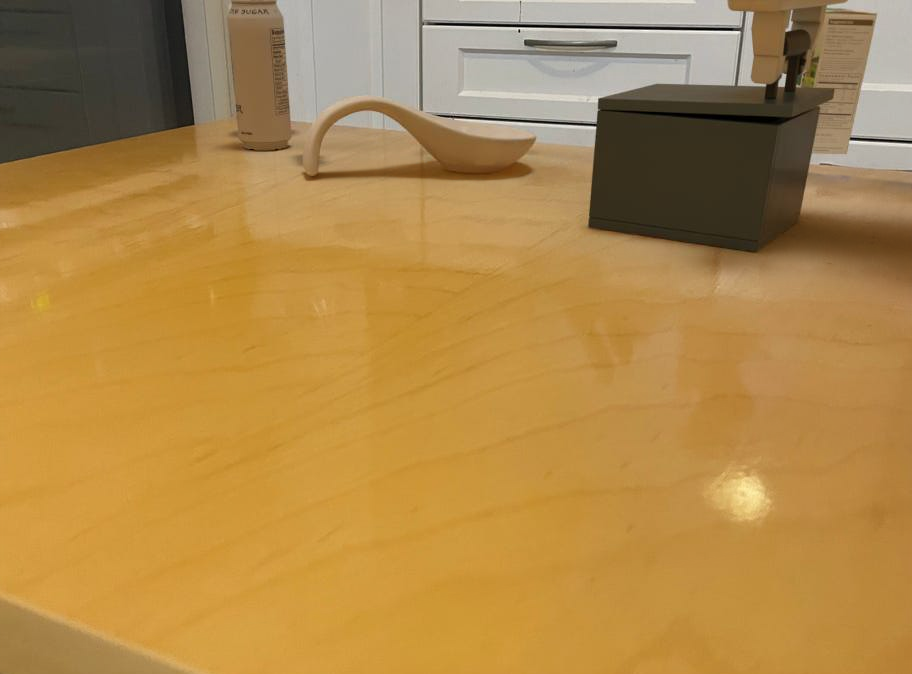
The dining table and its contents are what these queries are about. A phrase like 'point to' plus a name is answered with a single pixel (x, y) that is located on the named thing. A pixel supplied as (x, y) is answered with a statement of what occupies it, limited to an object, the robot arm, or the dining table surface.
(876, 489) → the dining table surface
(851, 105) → the syrup box
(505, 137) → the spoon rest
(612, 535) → the dining table surface
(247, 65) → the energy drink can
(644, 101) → the lid
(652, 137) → the chest
